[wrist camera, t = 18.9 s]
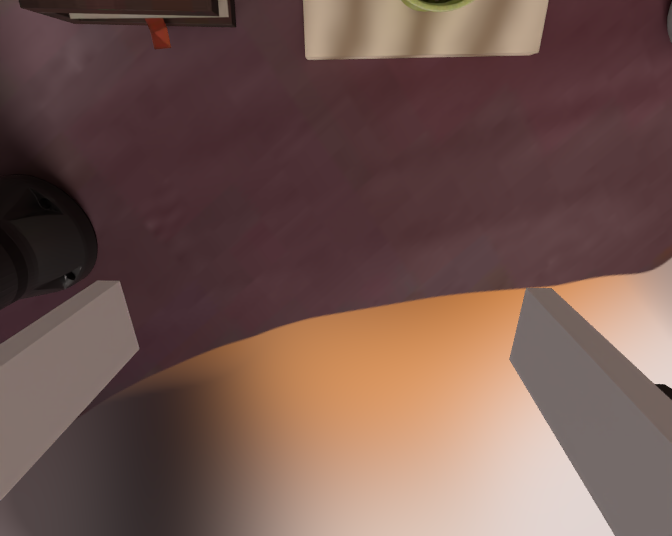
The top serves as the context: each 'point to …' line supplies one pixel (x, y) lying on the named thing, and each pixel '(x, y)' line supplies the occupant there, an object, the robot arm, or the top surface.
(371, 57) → the shelf board
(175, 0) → the decorative book
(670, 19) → the pocket watch
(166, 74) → the top surface
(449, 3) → the plant pot
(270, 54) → the top surface
